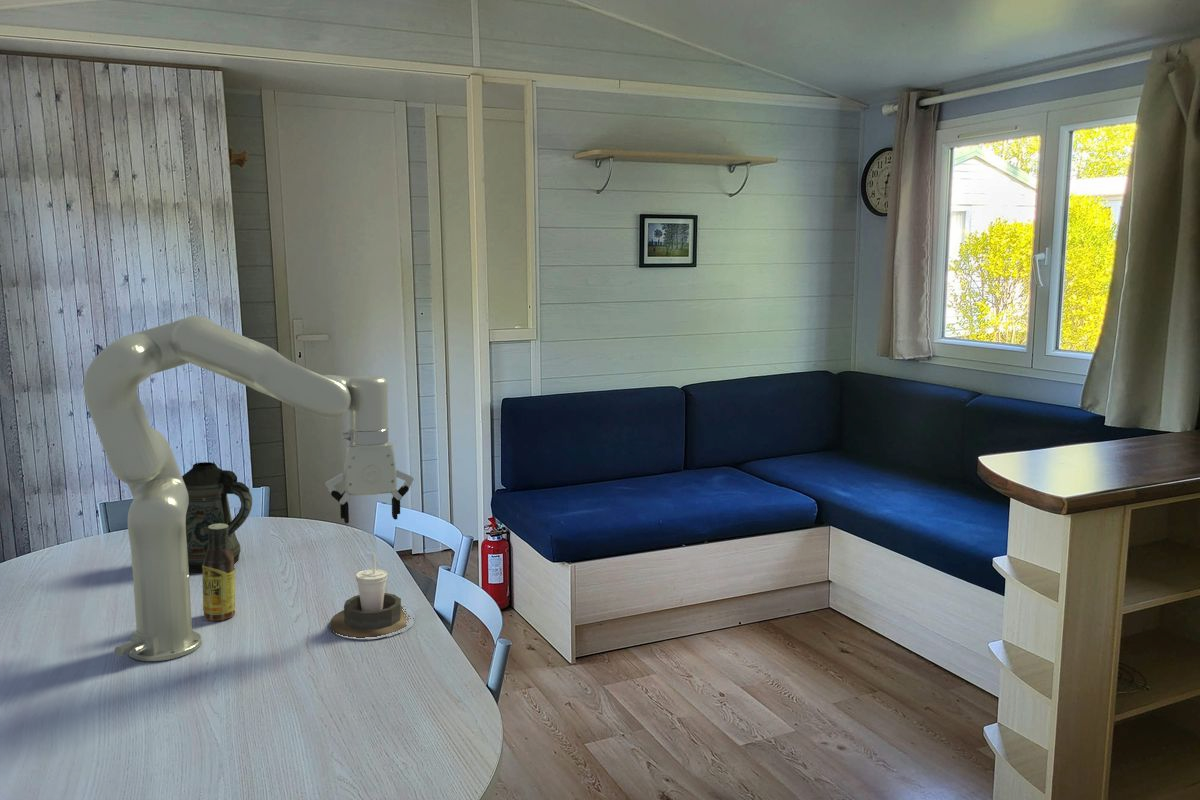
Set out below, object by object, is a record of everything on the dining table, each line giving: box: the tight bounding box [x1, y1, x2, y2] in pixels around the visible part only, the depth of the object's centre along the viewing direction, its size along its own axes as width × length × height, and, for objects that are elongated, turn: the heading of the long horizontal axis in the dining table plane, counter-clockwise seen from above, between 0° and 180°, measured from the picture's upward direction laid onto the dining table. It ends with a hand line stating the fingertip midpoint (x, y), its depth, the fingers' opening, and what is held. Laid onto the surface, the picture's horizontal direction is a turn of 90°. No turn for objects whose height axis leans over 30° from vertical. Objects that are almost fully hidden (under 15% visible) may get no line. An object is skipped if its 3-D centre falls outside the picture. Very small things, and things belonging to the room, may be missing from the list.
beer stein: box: [181, 461, 253, 574], centre depth 219 cm, size 16×19×25 cm
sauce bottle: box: [201, 523, 236, 622], centre depth 185 cm, size 6×6×20 cm
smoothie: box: [355, 553, 388, 611], centre depth 183 cm, size 6×6×14 cm
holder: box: [329, 592, 414, 638], centre depth 184 cm, size 17×17×4 cm
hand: (370, 519), depth 182 cm, fingers open, 9 cm apart
